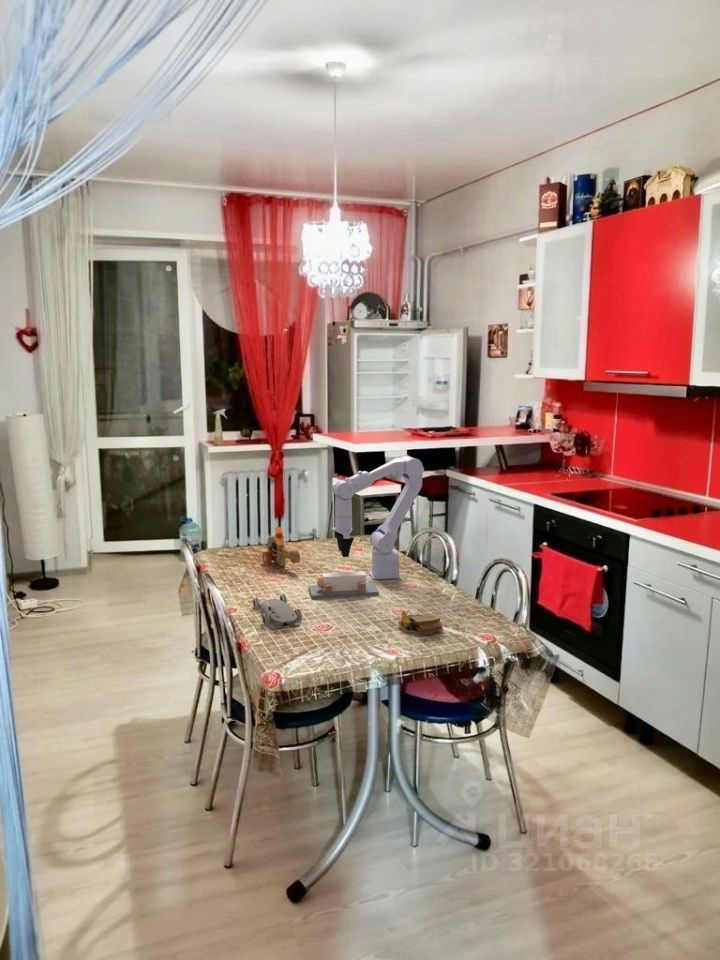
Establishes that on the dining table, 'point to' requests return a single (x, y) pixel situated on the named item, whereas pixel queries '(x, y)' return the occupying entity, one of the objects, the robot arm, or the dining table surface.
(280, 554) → the toy helicopter
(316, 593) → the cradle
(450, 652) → the dining table surface
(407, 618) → the toy sandwich meal
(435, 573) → the dining table surface
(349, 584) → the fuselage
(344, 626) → the dining table surface
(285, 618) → the car model
